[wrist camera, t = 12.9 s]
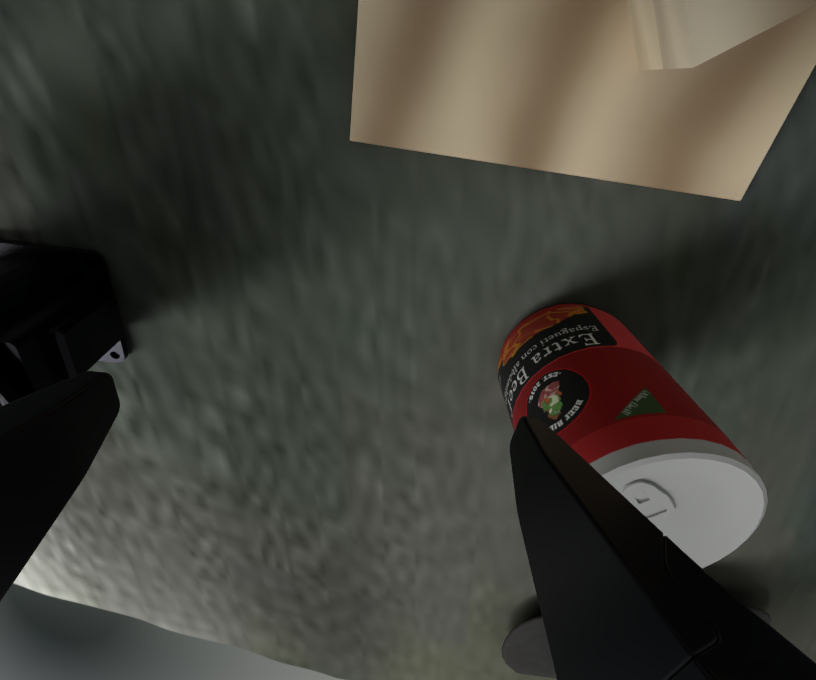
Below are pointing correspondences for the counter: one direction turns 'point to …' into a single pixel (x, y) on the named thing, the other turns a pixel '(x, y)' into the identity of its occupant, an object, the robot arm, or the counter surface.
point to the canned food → (632, 427)
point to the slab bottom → (645, 34)
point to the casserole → (544, 647)
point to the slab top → (715, 26)
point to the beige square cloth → (571, 92)
